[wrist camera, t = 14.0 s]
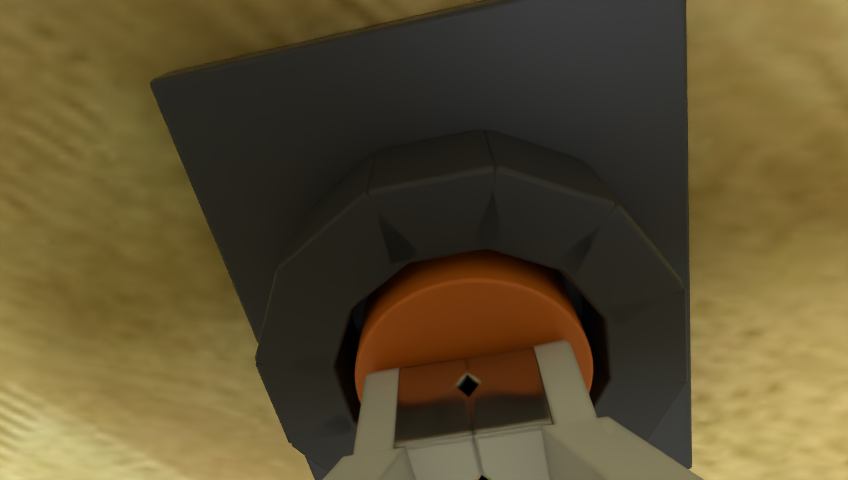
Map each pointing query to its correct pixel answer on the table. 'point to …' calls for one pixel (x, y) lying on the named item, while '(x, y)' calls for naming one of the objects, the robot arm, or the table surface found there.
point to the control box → (453, 189)
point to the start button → (467, 313)
